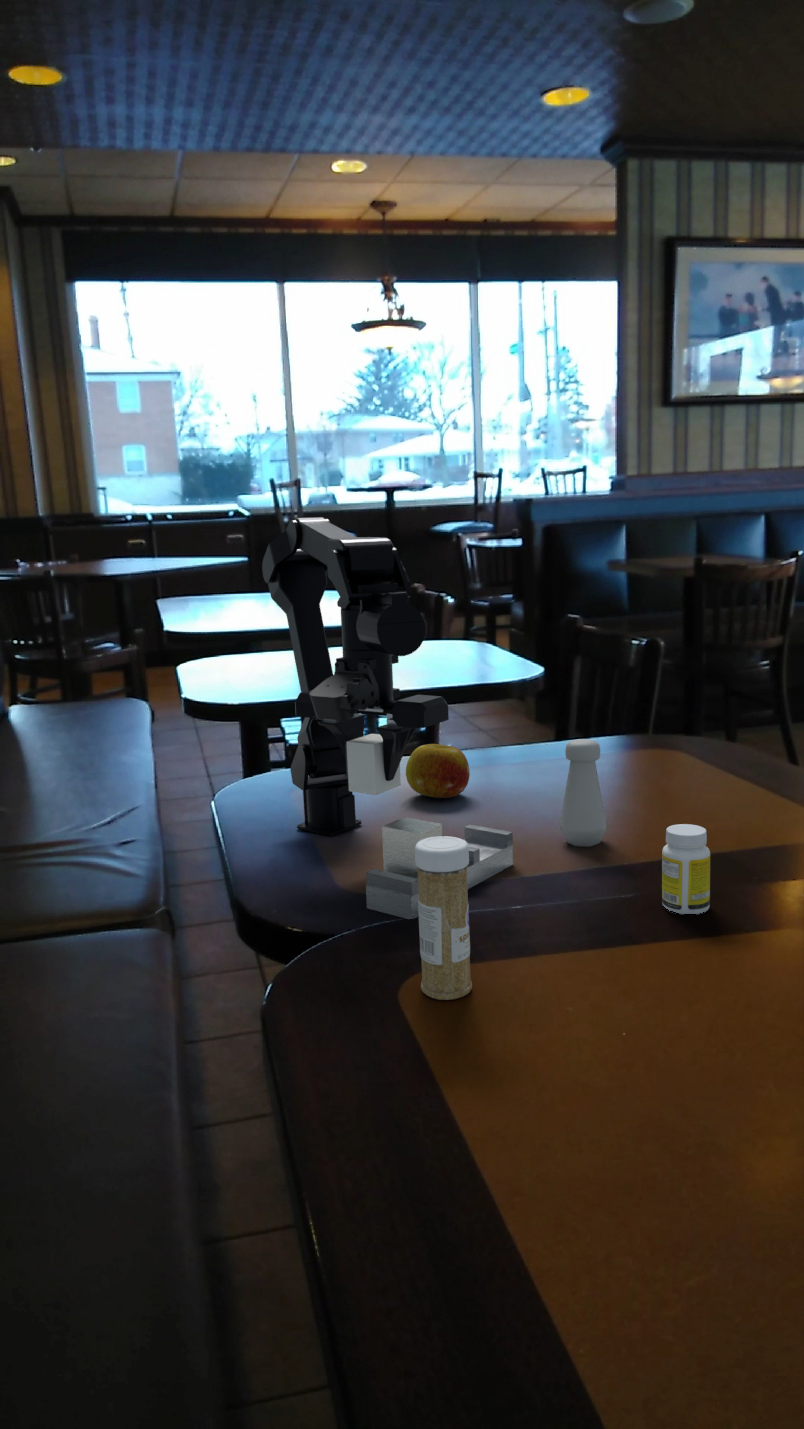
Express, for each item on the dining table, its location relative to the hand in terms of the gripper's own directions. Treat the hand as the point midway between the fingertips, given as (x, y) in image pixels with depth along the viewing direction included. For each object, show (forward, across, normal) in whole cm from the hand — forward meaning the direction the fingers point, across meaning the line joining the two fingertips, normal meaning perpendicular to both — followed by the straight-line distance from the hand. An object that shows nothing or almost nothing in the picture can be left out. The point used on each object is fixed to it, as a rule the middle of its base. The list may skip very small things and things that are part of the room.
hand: (372, 778), depth 120 cm
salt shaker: (+11, +18, +19) cm, 29 cm away
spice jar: (+11, +25, -24) cm, 37 cm away
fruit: (+11, -9, +28) cm, 32 cm away
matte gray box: (+1, 0, 0) cm, 1 cm away
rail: (+10, +11, -3) cm, 16 cm away
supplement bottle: (+11, +37, +4) cm, 38 cm away
